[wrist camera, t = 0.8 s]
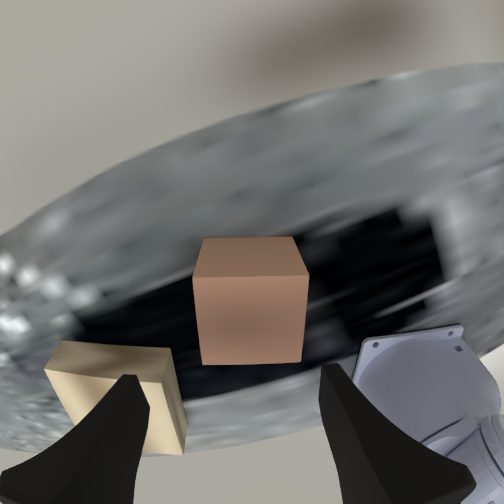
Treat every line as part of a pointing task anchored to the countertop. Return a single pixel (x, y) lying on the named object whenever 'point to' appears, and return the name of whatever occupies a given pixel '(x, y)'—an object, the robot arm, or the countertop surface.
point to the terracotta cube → (250, 300)
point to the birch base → (104, 377)
